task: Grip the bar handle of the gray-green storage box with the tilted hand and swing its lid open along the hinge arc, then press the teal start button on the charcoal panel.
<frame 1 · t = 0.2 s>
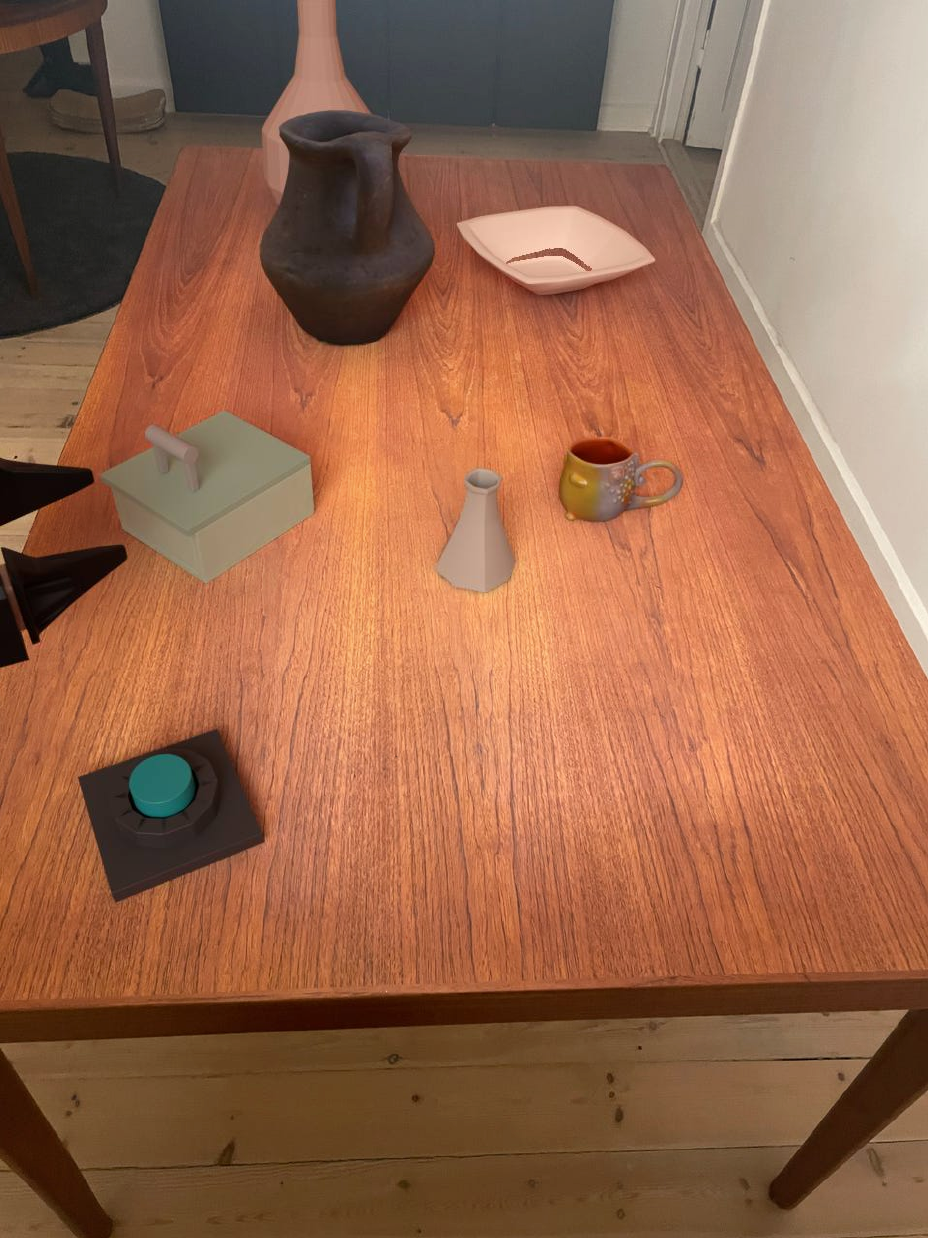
hand: (108, 511, 62), 16 cm above the table, tool horizontal, fingers open, 9 cm apart
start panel: (171, 814, 63), on the table
pitcher: (352, 330, 115), on the table
bowl: (548, 282, 129), on the table
gray-green storage box: (220, 520, 86), on the table
lid: (204, 447, 80), point 9 cm above the table, hinge at 0.0°
start button: (162, 785, 61), point 3 cm above the table, slide at 0.1 cm
flask: (475, 568, 84), on the table
vase: (327, 225, 138), on the table
mug: (615, 509, 92), on the table
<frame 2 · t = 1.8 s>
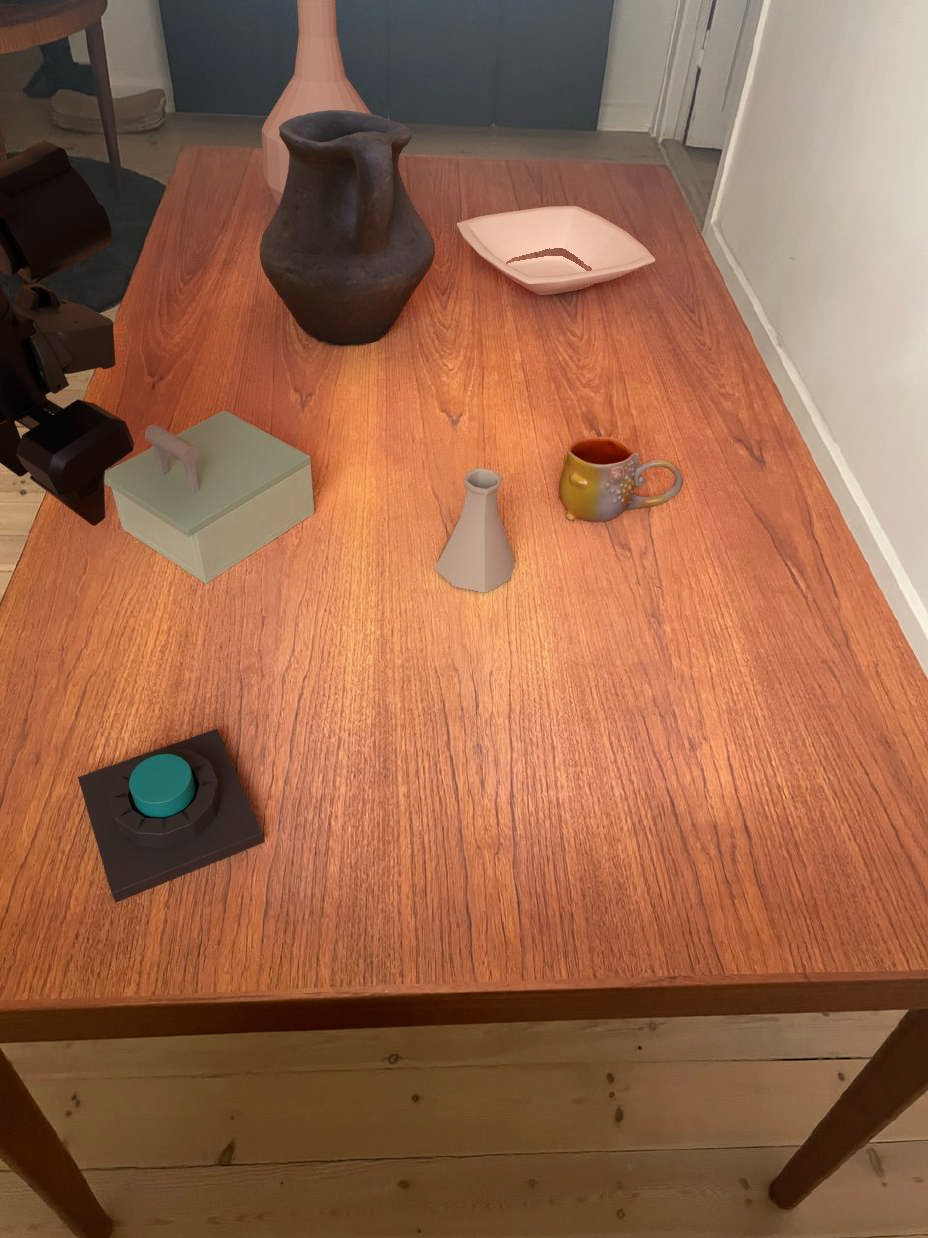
hand: (60, 496, 69), 12 cm above the table, tool pointing down, fingers open, 9 cm apart
nothing on the table moved.
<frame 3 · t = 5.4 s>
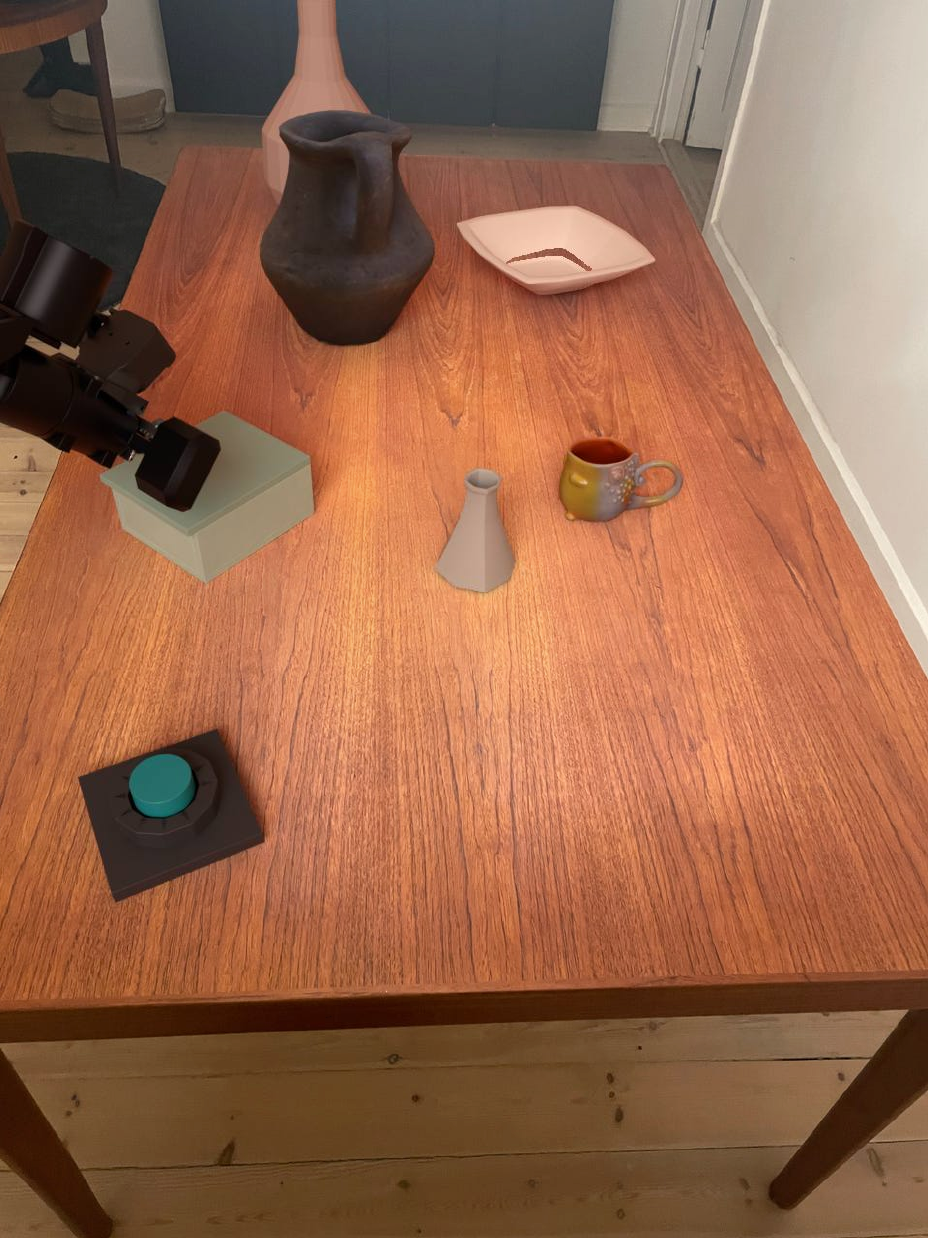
hand: (188, 459, 79), 8 cm above the table, tool tilted 45°, fingers closed on lid, 5 cm apart
lid: (204, 447, 80), point 9 cm above the table, hinge at 0.0°, touching gripper
everything else where it was.
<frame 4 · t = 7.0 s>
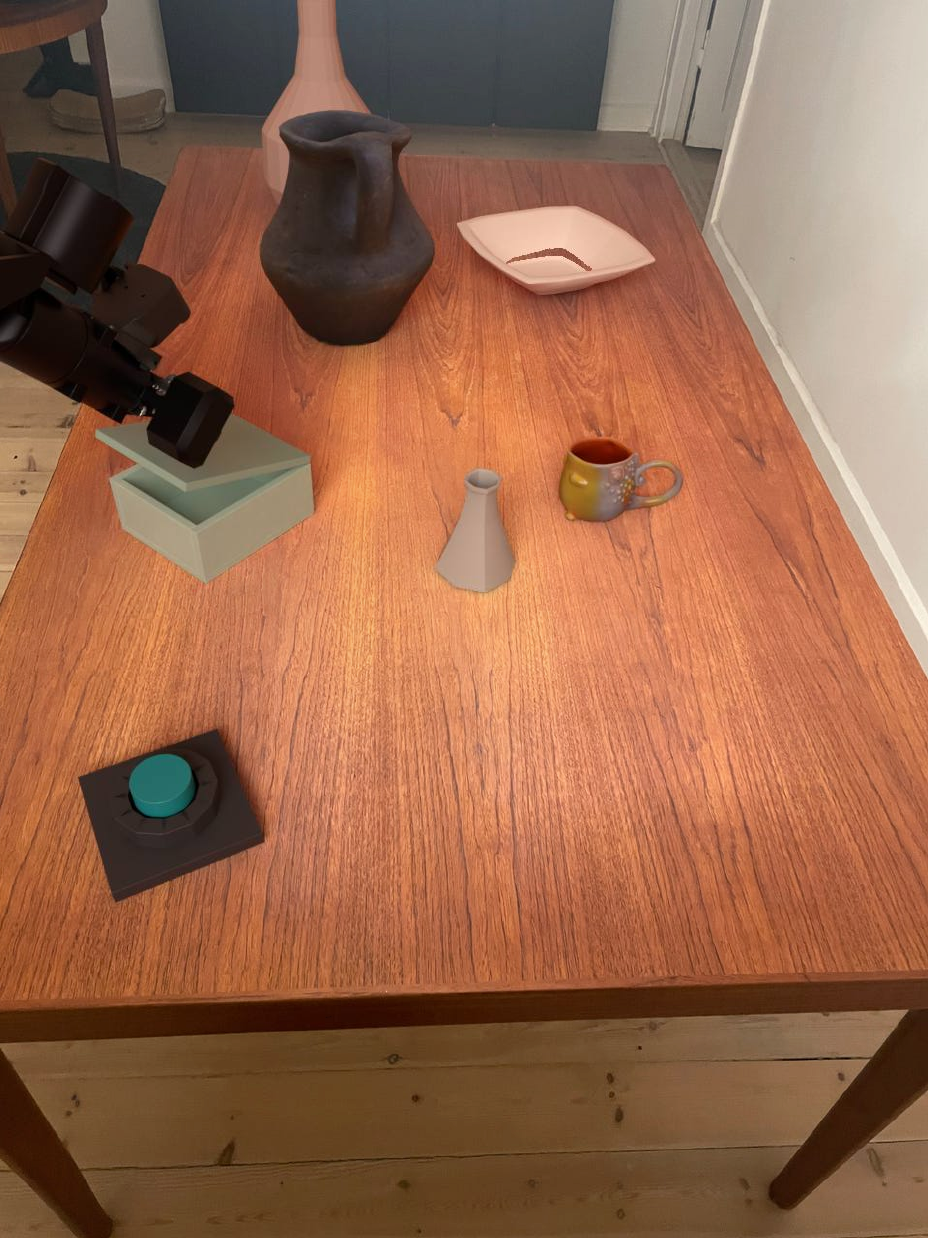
hand: (197, 424, 78), 11 cm above the table, tool tilted 40°, fingers closed on lid, 5 cm apart
lid: (209, 422, 79), point 11 cm above the table, hinge at 17.5°, touching gripper
everything else where it was.
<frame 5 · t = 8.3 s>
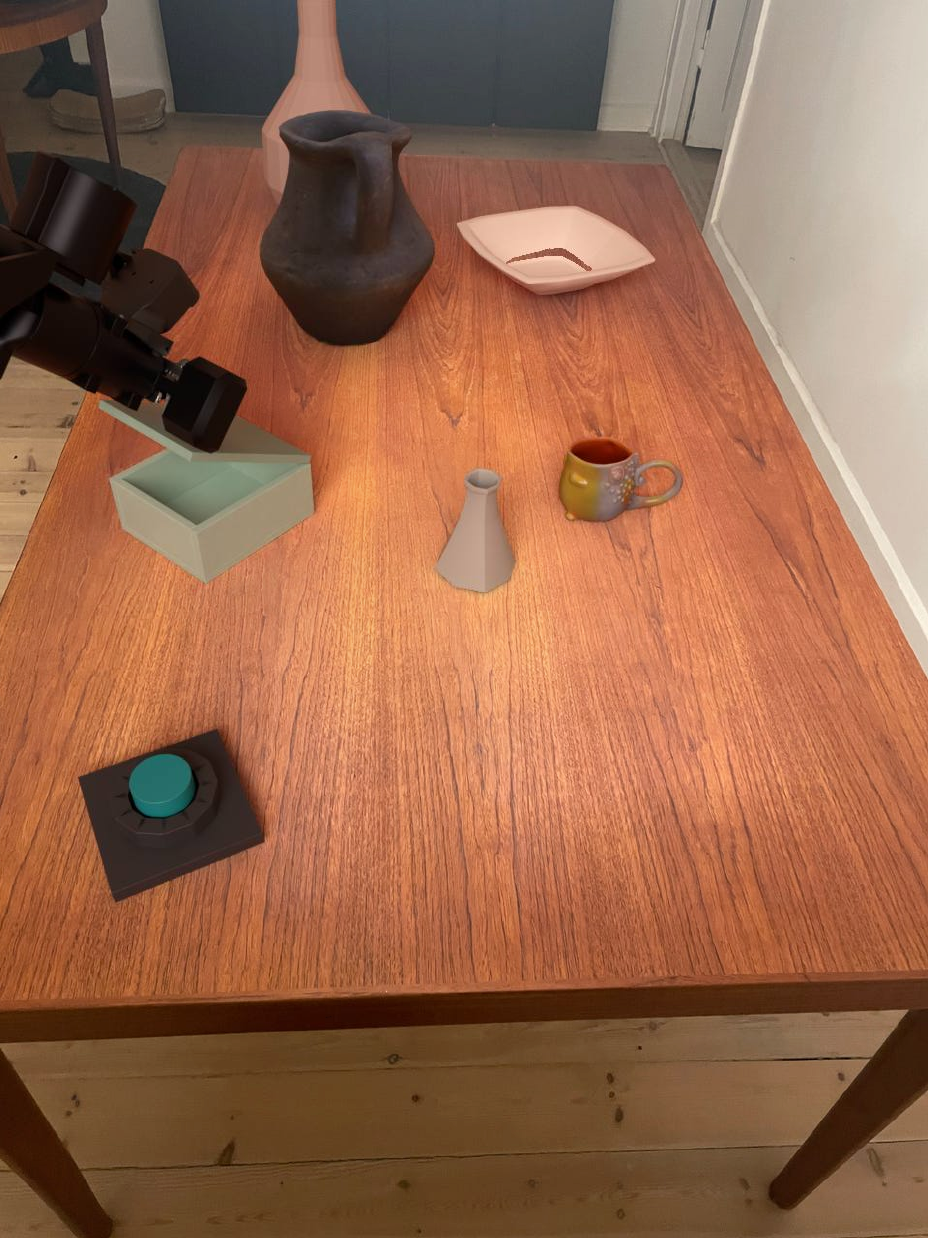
hand: (213, 404, 79), 12 cm above the table, tool tilted 45°, fingers closed on lid, 5 cm apart
lid: (216, 407, 79), point 12 cm above the table, hinge at 28.0°, touching gripper
everything else where it was.
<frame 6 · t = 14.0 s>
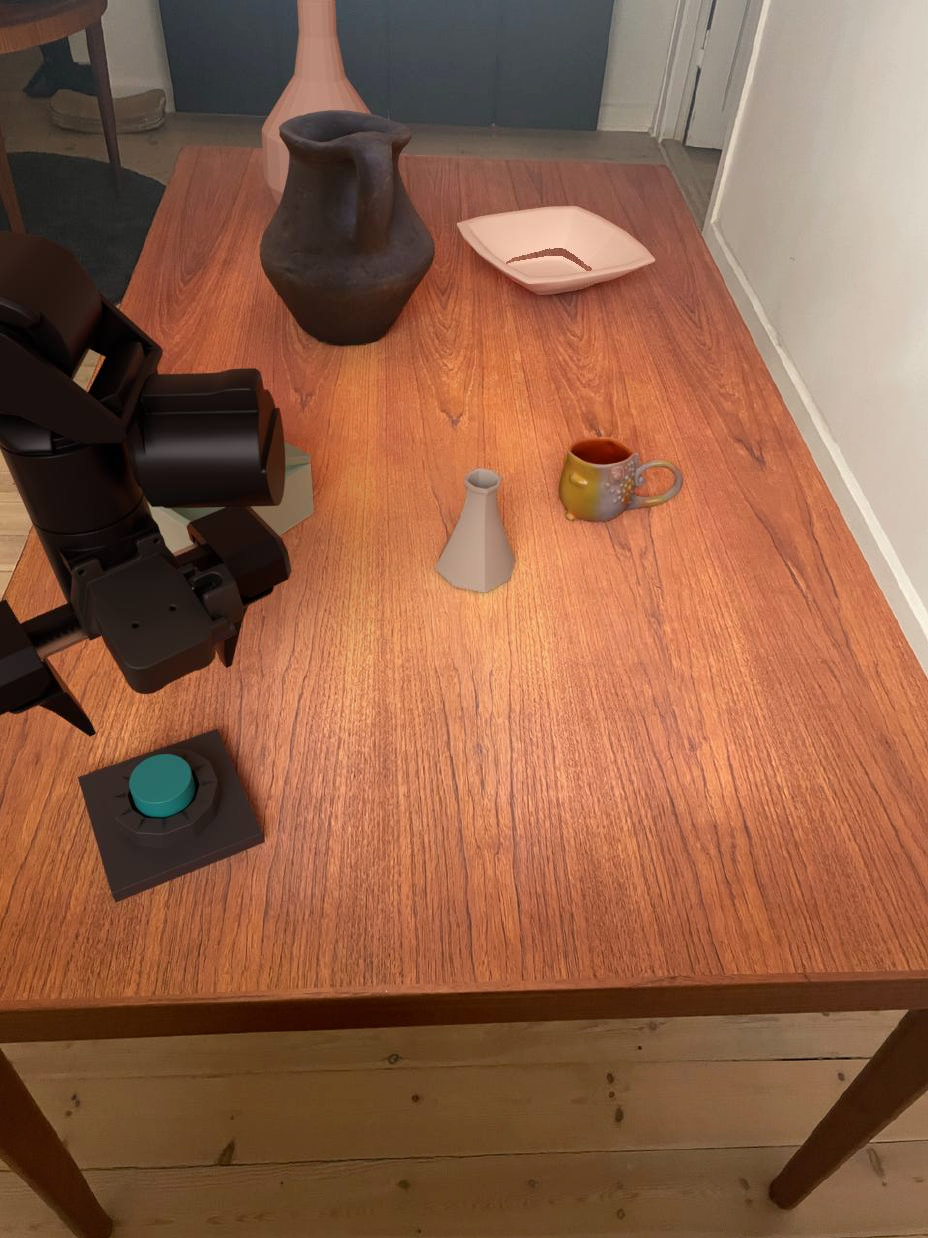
hand: (160, 696, 58), 10 cm above the table, tool pointing down, fingers open, 9 cm apart
lid: (213, 414, 79), point 11 cm above the table, hinge at 23.3°
everything else where it was.
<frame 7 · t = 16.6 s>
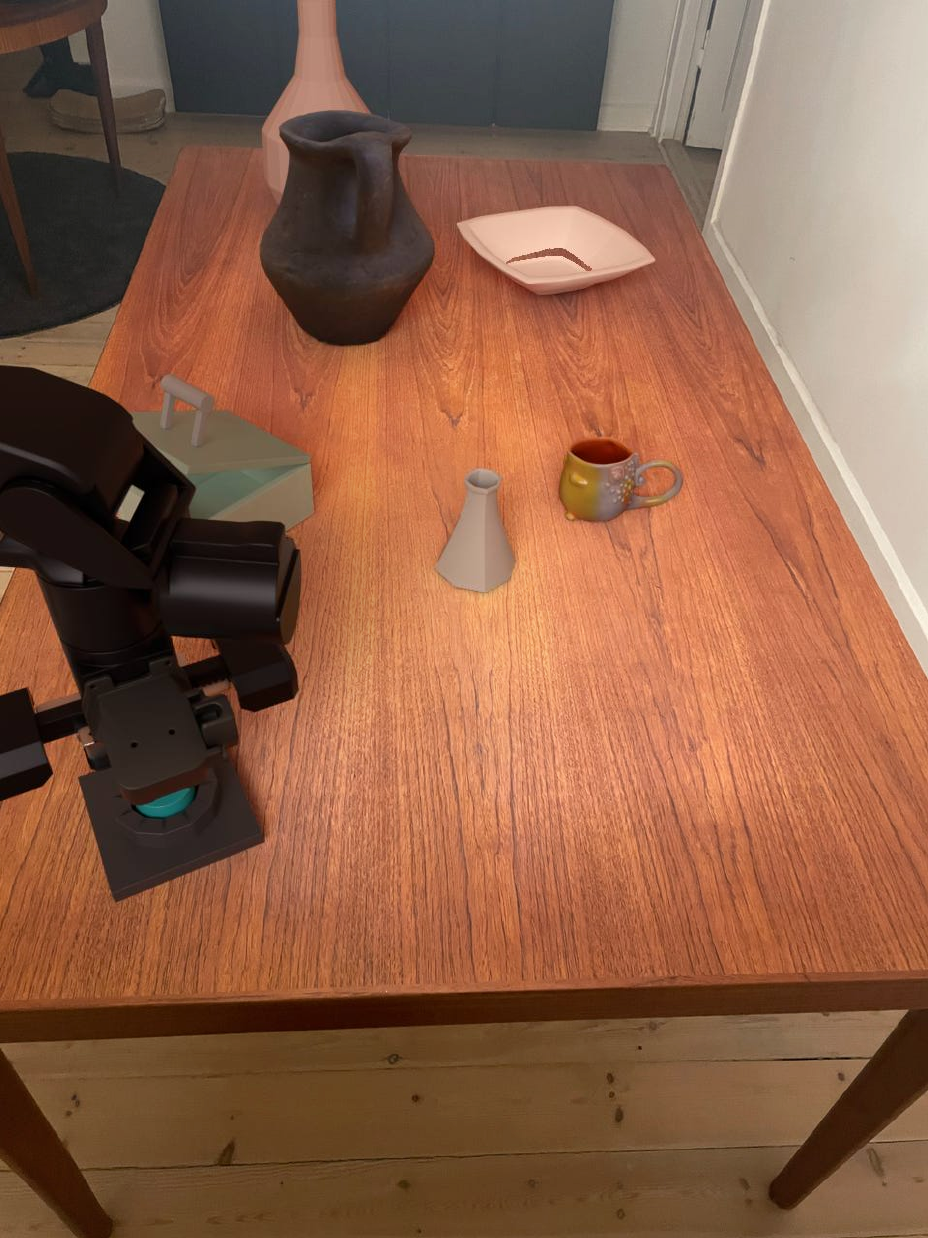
hand: (161, 781, 61), 4 cm above the table, tool pointing down, fingers closed, pressing on start button
start button: (163, 789, 61), point 3 cm above the table, slide at -0.4 cm, touching gripper
everything else where it was.
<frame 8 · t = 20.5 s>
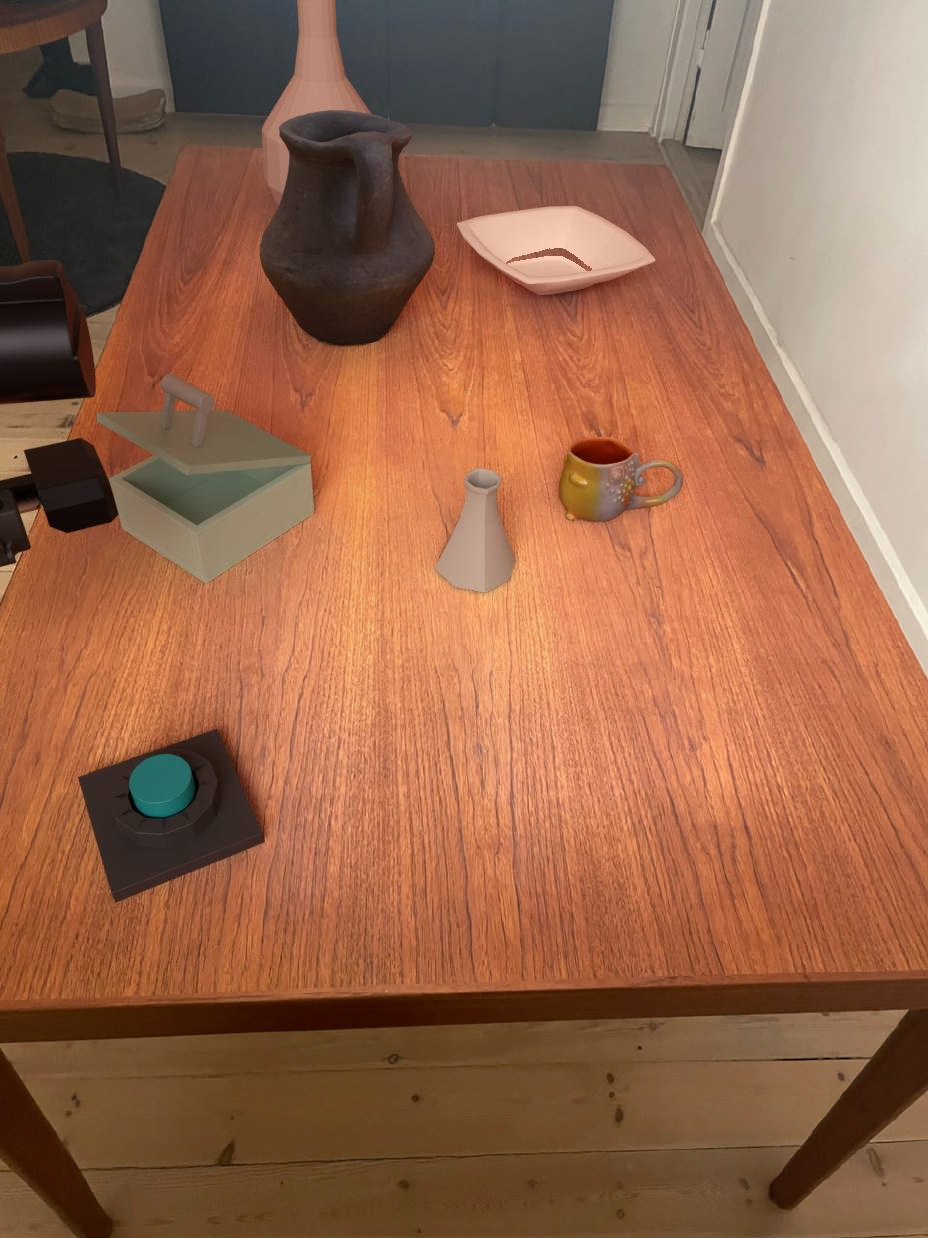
start button: (162, 785, 61), point 3 cm above the table, slide at 0.1 cm
everything else where it was.
at the end: lid at +23° (first picture: +0°); start button pushed in 1.1 cm at the most during the clip, back to where it started at the end; start button slide at 0.1 cm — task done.
